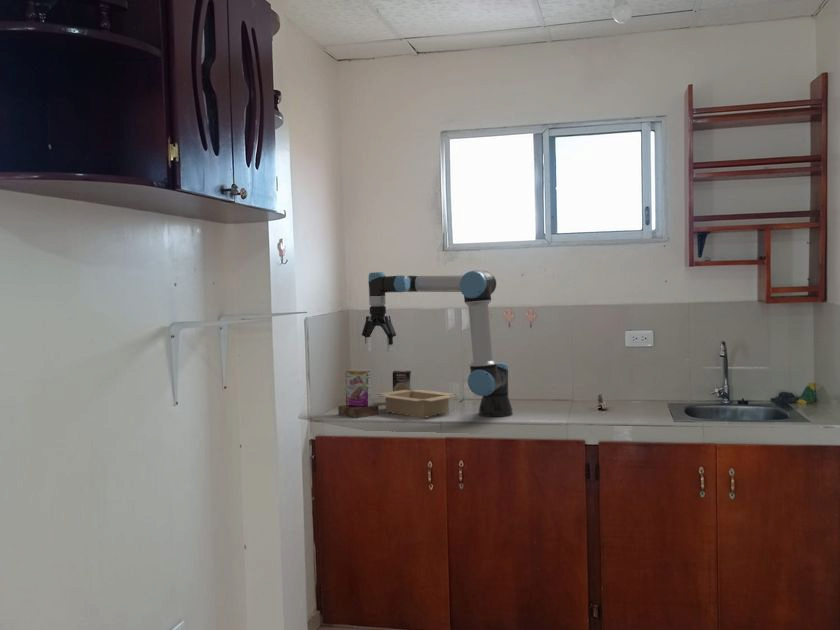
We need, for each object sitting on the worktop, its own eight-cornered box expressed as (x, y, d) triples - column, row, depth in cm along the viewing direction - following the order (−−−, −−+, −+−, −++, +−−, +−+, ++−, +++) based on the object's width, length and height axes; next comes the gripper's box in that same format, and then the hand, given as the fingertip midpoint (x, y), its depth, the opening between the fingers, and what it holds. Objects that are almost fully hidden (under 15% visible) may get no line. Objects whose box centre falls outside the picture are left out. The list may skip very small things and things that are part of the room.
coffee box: (392, 404, 373) (391, 372, 373) (393, 402, 380) (393, 370, 379) (410, 404, 372) (410, 372, 372) (412, 402, 379) (411, 370, 378)
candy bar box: (345, 406, 345) (344, 370, 344) (350, 404, 350) (349, 369, 349) (368, 407, 341) (367, 371, 341) (372, 405, 346) (371, 369, 345)
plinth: (378, 414, 346) (378, 405, 346) (357, 418, 337) (357, 409, 337) (359, 411, 355) (359, 402, 355) (338, 414, 346) (338, 406, 346)
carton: (464, 412, 347) (463, 394, 347) (425, 420, 328) (424, 402, 328) (411, 404, 371) (411, 388, 370) (372, 412, 352) (372, 394, 352)
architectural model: (605, 409, 351) (605, 393, 351) (605, 411, 345) (605, 395, 344) (598, 409, 352) (597, 393, 352) (597, 411, 346) (597, 395, 345)
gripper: (402, 305, 343) (404, 351, 344) (364, 305, 360) (366, 350, 361) (391, 305, 338) (392, 353, 339) (353, 306, 355) (355, 351, 356)
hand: (379, 351), depth 350 cm, fingers open, 13 cm apart
